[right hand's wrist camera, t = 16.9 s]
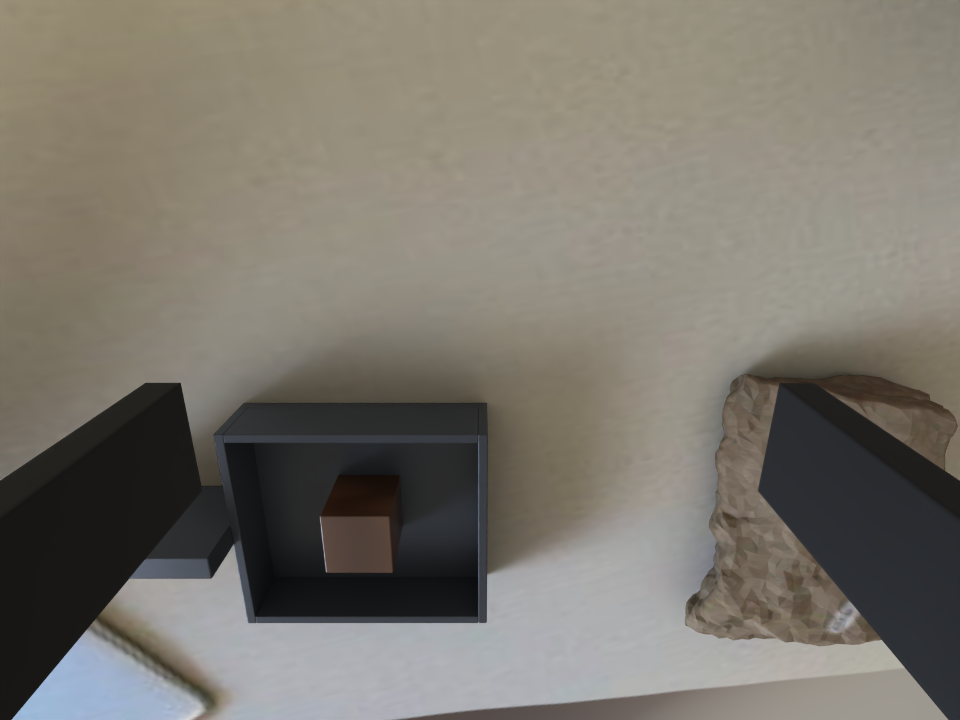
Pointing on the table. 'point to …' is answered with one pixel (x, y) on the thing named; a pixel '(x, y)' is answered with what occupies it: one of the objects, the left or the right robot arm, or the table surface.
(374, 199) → the table surface
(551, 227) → the table surface
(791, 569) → the stone
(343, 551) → the block
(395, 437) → the tray
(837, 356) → the table surface
